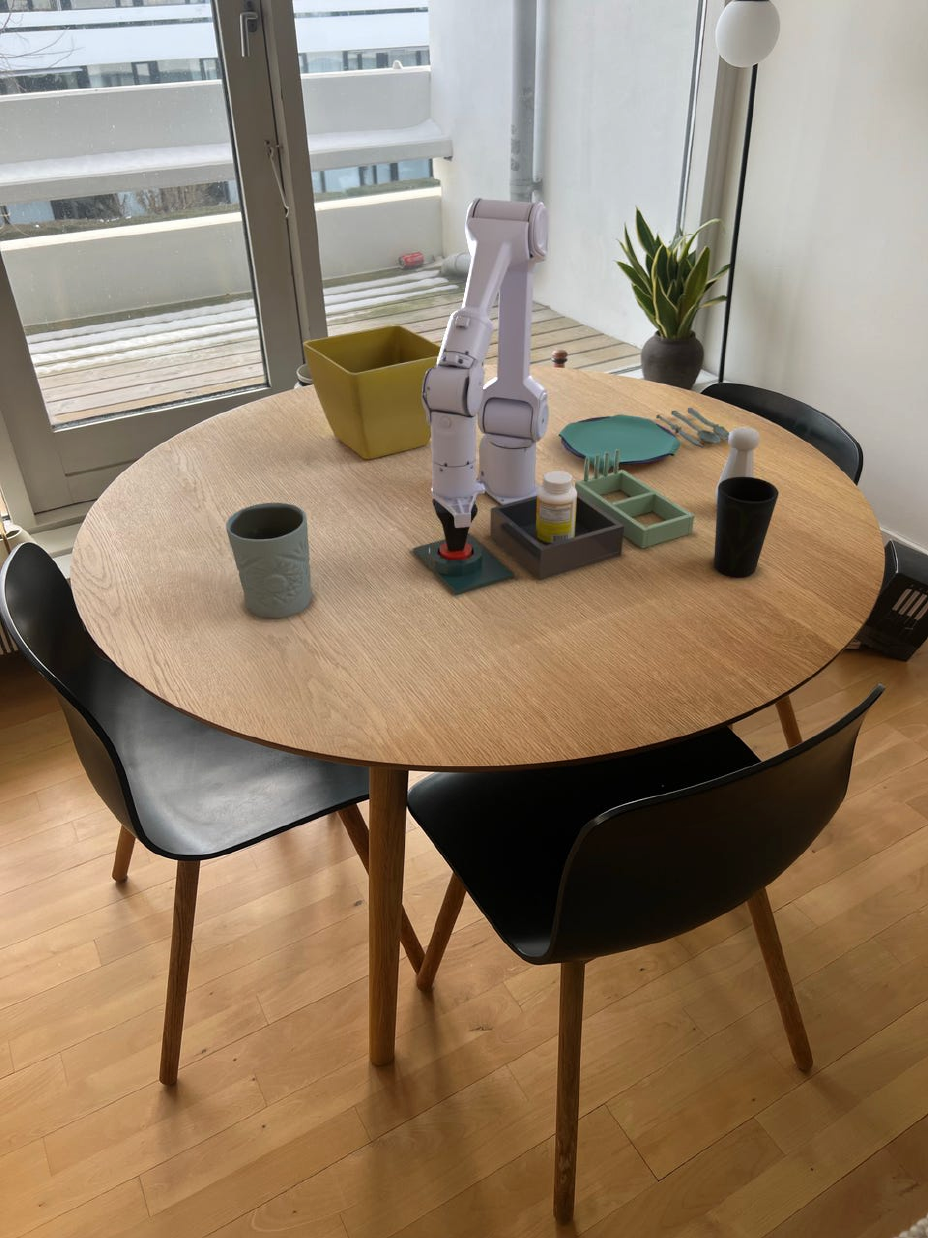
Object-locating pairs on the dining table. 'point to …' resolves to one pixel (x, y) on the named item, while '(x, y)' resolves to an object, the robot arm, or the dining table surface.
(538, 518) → the supplement bottle
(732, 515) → the cup
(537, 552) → the dark grey storage bin
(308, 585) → the grey embossed vase
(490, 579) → the block
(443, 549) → the tap button
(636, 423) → the cutlery set
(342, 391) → the flower pot
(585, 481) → the dish rack
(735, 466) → the salt shaker
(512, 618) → the dining table surface
